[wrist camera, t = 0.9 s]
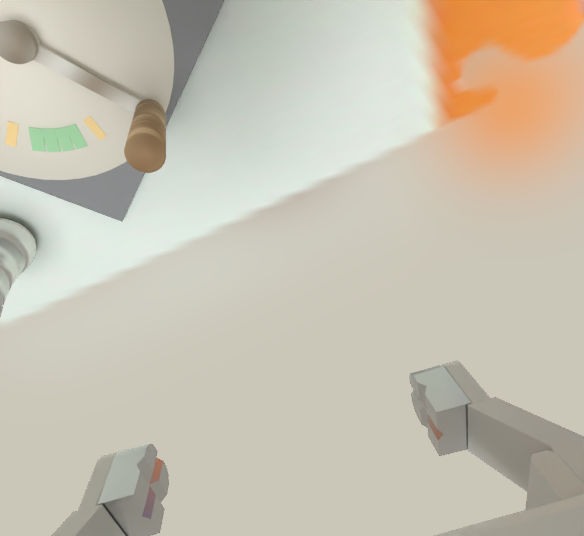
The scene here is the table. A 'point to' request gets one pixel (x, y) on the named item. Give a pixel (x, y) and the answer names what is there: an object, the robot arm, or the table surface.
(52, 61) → the needle lever
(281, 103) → the table surface
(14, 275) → the plastic bottle
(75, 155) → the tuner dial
